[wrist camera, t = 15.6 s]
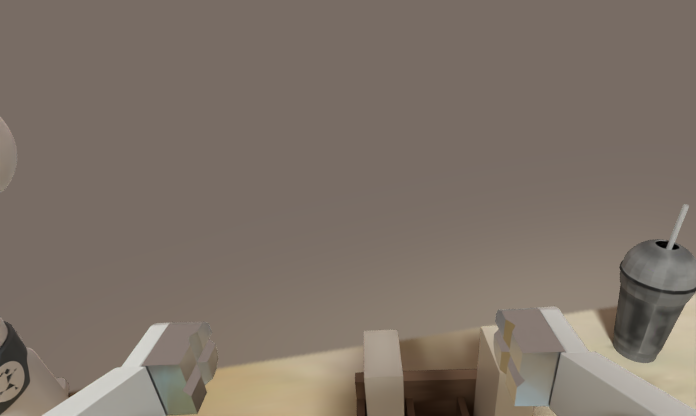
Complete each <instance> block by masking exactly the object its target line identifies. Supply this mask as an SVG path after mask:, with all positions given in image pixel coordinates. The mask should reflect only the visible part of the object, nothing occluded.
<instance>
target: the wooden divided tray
mask: <svg viewBox="0 0 696 416" xmlns="http://www.w3.org/2000/svg"><path fill="white" fill-rule="evenodd" d="M476 378H477V369H460V370H427V371H403V387H404V416H473V412H474V401H475V389H476ZM355 385H356V394H357V416H367V405H366V394H365V383H364V372H361V373H355Z"/></svg>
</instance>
